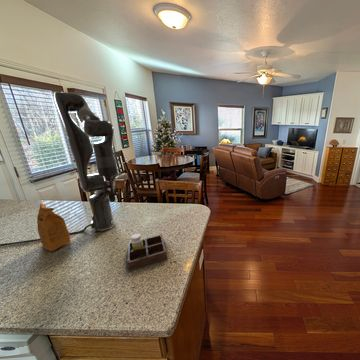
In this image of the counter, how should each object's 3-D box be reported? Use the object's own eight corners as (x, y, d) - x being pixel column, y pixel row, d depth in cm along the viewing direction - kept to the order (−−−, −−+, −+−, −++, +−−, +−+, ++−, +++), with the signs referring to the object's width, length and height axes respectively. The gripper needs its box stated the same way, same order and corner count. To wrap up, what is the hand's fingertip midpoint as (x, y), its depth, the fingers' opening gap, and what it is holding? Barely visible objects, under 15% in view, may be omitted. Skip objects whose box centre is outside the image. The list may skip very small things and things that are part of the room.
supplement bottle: (135, 247, 94) (133, 233, 92) (145, 247, 95) (143, 232, 92) (131, 254, 90) (128, 239, 87) (141, 253, 90) (138, 238, 88)
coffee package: (64, 235, 105) (53, 199, 98) (74, 243, 98) (62, 205, 92) (40, 245, 96) (25, 206, 90) (48, 253, 90) (33, 213, 84)
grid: (129, 270, 81) (127, 263, 80) (129, 249, 94) (128, 242, 93) (167, 258, 88) (166, 251, 87) (162, 240, 101) (161, 234, 100)
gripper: (99, 162, 91) (105, 193, 96) (94, 169, 79) (102, 204, 84) (117, 161, 94) (122, 191, 99) (115, 167, 83) (121, 201, 88)
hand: (113, 197), depth 92 cm, fingers open, 8 cm apart
